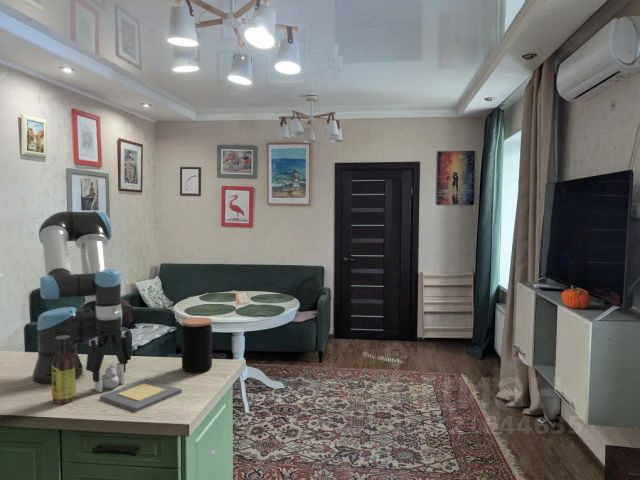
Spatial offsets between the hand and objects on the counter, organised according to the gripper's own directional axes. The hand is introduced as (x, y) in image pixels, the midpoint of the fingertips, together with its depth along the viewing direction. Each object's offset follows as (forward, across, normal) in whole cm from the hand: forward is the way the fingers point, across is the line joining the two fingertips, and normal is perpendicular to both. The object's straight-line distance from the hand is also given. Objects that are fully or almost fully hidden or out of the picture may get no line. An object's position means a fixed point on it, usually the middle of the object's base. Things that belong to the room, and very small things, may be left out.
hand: (109, 386), depth 152 cm
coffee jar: (0, +28, -11) cm, 30 cm away
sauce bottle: (0, -14, +2) cm, 14 cm away
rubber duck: (0, 0, 0) cm, 1 cm away
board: (0, +1, -14) cm, 14 cm away
